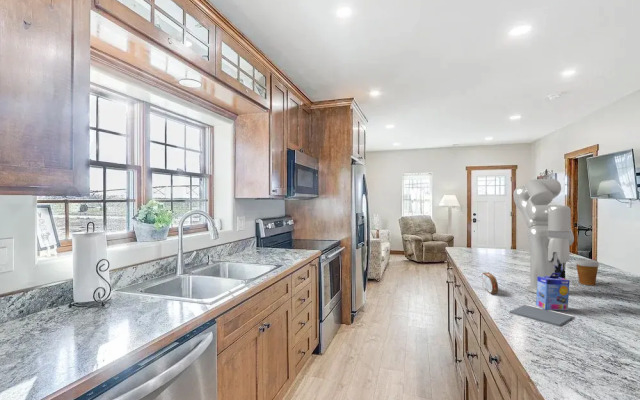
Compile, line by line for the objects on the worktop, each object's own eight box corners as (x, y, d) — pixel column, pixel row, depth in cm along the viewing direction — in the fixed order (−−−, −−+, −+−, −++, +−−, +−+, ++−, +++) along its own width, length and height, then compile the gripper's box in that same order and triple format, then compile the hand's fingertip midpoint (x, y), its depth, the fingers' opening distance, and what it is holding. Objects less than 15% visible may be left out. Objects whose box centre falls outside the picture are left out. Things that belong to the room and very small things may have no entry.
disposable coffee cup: (571, 281, 167) (570, 259, 167) (590, 281, 165) (590, 259, 165) (583, 286, 157) (583, 262, 157) (604, 286, 156) (604, 262, 156)
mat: (525, 305, 128) (525, 304, 128) (573, 317, 115) (573, 315, 115) (509, 312, 120) (509, 311, 120) (559, 326, 107) (559, 324, 107)
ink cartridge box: (546, 310, 120) (547, 273, 121) (535, 305, 126) (536, 270, 126) (569, 310, 121) (570, 273, 122) (557, 306, 127) (558, 270, 127)
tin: (498, 296, 141) (498, 278, 141) (491, 296, 142) (491, 277, 142) (487, 287, 156) (487, 270, 156) (481, 287, 156) (481, 270, 156)
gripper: (555, 233, 135) (555, 275, 135) (541, 235, 127) (542, 280, 126) (576, 235, 129) (577, 278, 129) (564, 237, 121) (564, 284, 120)
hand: (560, 279), depth 128 cm, fingers closed
